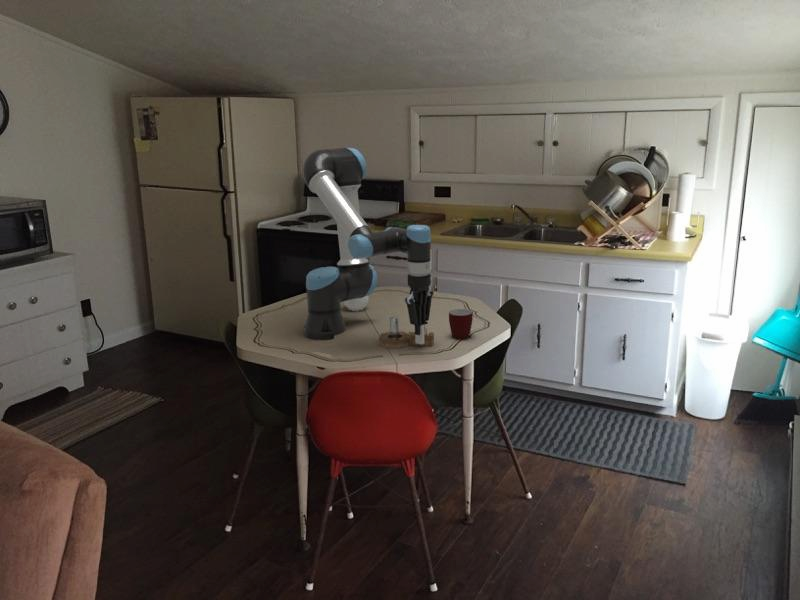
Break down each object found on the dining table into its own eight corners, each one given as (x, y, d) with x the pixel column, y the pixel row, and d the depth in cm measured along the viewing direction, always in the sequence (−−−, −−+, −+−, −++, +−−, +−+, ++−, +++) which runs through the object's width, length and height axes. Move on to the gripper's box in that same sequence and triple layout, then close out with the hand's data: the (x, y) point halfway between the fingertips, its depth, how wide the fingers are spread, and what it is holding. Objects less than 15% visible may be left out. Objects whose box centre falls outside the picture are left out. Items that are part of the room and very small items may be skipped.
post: (388, 343, 232) (387, 318, 230) (394, 341, 234) (393, 316, 232) (395, 345, 230) (395, 319, 228) (401, 342, 233) (400, 317, 230)
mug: (447, 334, 244) (447, 307, 241) (469, 333, 244) (470, 306, 242) (450, 344, 234) (450, 316, 231) (473, 343, 234) (474, 315, 231)
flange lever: (377, 347, 228) (377, 337, 228) (383, 337, 238) (382, 328, 237) (431, 349, 225) (431, 339, 225) (435, 339, 235) (434, 329, 234)
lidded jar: (340, 312, 274) (339, 289, 271) (345, 305, 284) (344, 283, 281) (367, 313, 272) (366, 290, 270) (371, 305, 283) (370, 283, 280)
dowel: (419, 343, 232) (419, 329, 230) (423, 341, 234) (422, 327, 232) (424, 344, 231) (424, 330, 229) (428, 342, 232) (428, 328, 231)
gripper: (416, 279, 214) (417, 350, 220) (440, 271, 224) (440, 340, 230) (397, 276, 219) (399, 346, 225) (421, 268, 229) (421, 336, 235)
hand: (419, 343), depth 228 cm, fingers closed
